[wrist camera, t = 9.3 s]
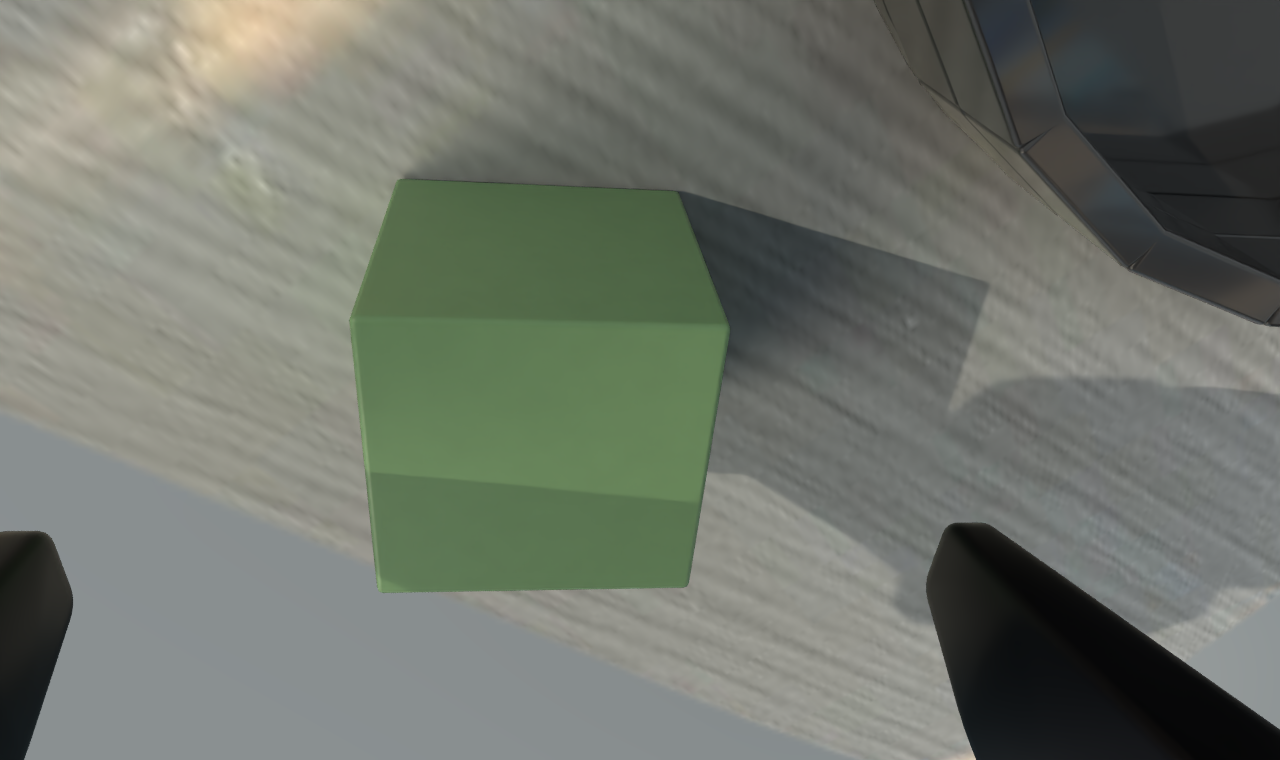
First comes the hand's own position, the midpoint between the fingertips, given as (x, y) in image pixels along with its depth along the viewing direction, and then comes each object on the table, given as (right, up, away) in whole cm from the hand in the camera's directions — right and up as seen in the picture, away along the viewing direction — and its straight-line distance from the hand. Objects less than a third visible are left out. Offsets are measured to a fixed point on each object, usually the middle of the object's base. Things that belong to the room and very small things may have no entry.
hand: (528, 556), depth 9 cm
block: (0, +3, +5) cm, 5 cm away
